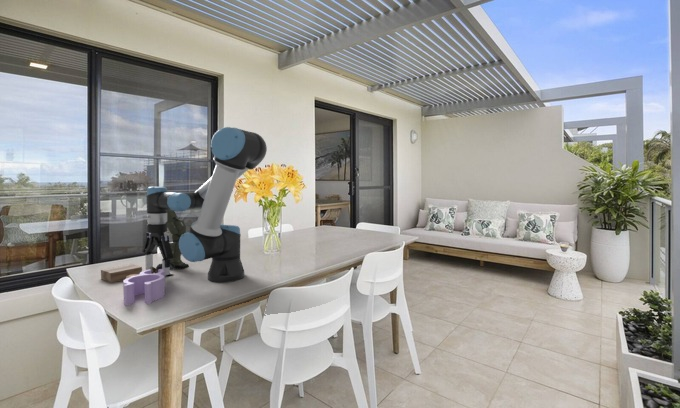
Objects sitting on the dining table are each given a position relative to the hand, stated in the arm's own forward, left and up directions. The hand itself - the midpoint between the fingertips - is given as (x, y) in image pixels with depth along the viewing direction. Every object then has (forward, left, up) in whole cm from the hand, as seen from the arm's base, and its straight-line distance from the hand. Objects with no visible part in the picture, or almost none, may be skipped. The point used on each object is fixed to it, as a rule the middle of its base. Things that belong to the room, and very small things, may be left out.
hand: (157, 272), depth 137 cm
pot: (-7, +12, -3) cm, 14 cm away
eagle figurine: (0, -2, -3) cm, 3 cm away
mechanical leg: (+11, -14, -3) cm, 18 cm away
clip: (-18, +13, -3) cm, 22 cm away
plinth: (+13, +8, -3) cm, 15 cm away
